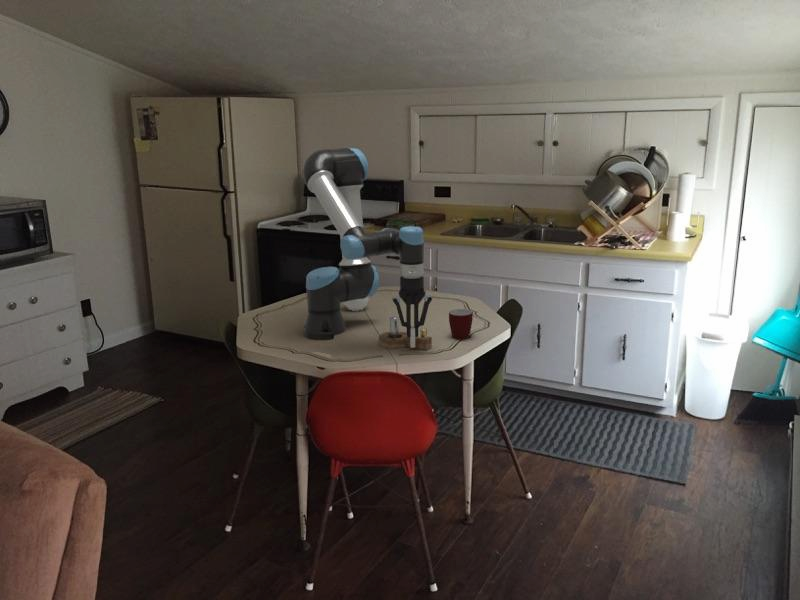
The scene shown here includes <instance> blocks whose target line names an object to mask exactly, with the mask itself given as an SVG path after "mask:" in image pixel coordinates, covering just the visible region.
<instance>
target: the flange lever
mask: <svg viewBox="0 0 800 600" xmlns="http://www.w3.org/2000/svg"><path fill="white" fill-rule="evenodd" d="M432 341H433V339H432V336H428V335H427V337H426V338H421V337H420V336H418V337H415V347H414V348H413V349H415V350H416V349H417V350H421V351H428V350H429V349H431V348H432V346H433V343H432ZM378 342H379V345H380V346H381V347H382V348H388V349H400V348H401V349H402V348H411V346H410V337H407V331H399V338H396V339H392V338H390V331H386V332H383V333H381V334H380V335H379V336H378ZM411 349H412V348H411Z"/></svg>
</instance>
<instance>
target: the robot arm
mask: <svg viewBox="0 0 800 600" xmlns="http://www.w3.org/2000/svg"><path fill="white" fill-rule="evenodd" d="M368 174H369V164H368V160H367V158H366V155H365V154H364V153H363V152H362V150H360V149H359V148H355V147H353V148H352V147H345V148H344V147H342V148H331V149H324V148H323V149H317V150H316V151H315V150H314V151H313V152H312V153H310V154H309V156H307V158H306V159H305V161H304V164H303V167H302V179H303V181H304V184H305V186H306V187H307V189H308V191H309V192H311V193H312V194H314V195H315V196H316V198H317V200H318V202H319V204H320V205H321V206H322V209H324V212H325V213H326V215H327V216H328V217H329V219H330V221H331V223H332V224H333V226H334V228H335V229H336V230H337V233H338V234H339V236H340V244H339V245H340V246H339V247H340V250H341V255H342V256H341V257H342V259H341V261H340V262H339V263H338V267H339V268H338V267H336V266H325V267H318V268H314V269H313V270H311V271H310V272H308V274H307V275H306V276H305V278H306V279H305V281H306V282H305V288H306V289H305V290H306V300H307V301H306V302H307V315H306V316H307V317H306V320H305V325H304V329H303V330H304V331H303V332H304V336H305V337H306V336H307V338H308V337H309V339H313V340H331V339H335V336H338V335H342V334H343V333H345V332H346V331H347V325H346V323H345V320H344V317H343V314H342V309H341V303H344V302H346V301H351V300H356V299H364V298H367V297H369V298H370V297H373V296H374V295H375V294H376V292H377V291H378V288H379V284H380V276H379V272H378V270H377V267H376V266H375V265H373V264H372V261H371V260H370V259H369V257H375V256H377V257H379V256H382V255H389V254H395V255H399V275H400V277H399V282H400V283H399V284H400V286H399V287H400V289H399V291H398V294H397V295H395V296H393V297H392V299H391V300H392V302H393V303H394V305H395V306H396V310H397V314H398V317H399V322H400V325H401V327H403V328H406V333H407V337H410V346H411V349H415V348H414V347H415V337H419V329H420V328H419V327H423V326H424V325H425V322H426V318H427V314H428V310H429V306H430V304H431V302H432V300H433V297H432V296H431V295H429V294H427V293H426V291H425V289H424V288H425V281H424V280H425V277H424V274H425V273H424V272H425V271H424V268H425V267H424V264H425V263H424V260H425V259H424V258H425V257H424V256H425V255H424V254H425V253H424V252H425V251H424V247H425V243H424V242H425V240H424V239H425V238H424V231H423V228H421V226H414V225H413V226H412V225H409V226H403V227H401V228H400V229H399V230H398V229H395V228H392V227H391V228H387V227H386V228H383V229H381V230H380V231H375V232H374V231H373V232H367V231H366V230H365V229H364V221H363V213H362V212H363V210H362V201H361V199H362V198H361V189H362V188H363V187H364V181H365V180H366V179H367V178H368ZM422 300H424V303H423V307H422V311H421V315H420V318H419V305H420V304H421V302H422ZM401 301H403V302H404V304H405V313H406V315H405V316H406V317H405V319H406V320H405V319H404V316H403V311H402V308H401V304H400V303H401ZM412 305H413V325H412V323H411V322H412V321H411V318H412V317H411V316H412V315H411V313H412V311H411V310H412V309H411V307H412Z"/></svg>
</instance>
